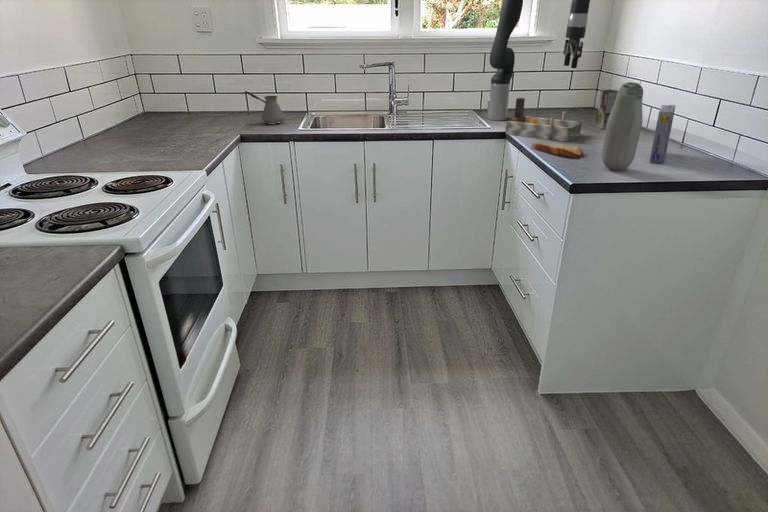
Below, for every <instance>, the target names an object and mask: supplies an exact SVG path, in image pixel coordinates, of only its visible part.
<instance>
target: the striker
mask: <svg viewBox="0 0 768 512" xmlns="http://www.w3.org/2000/svg"><path fill="white" fill-rule="evenodd" d="M525 100H526V97H525V98H523V97H518V98H516V99H515V109H514V117H513V118H512V119H510V121H513V122H522V123H524V122H525V119H526V117H527V115H526V114H524V111H525V110H524V109H525Z"/></svg>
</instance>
